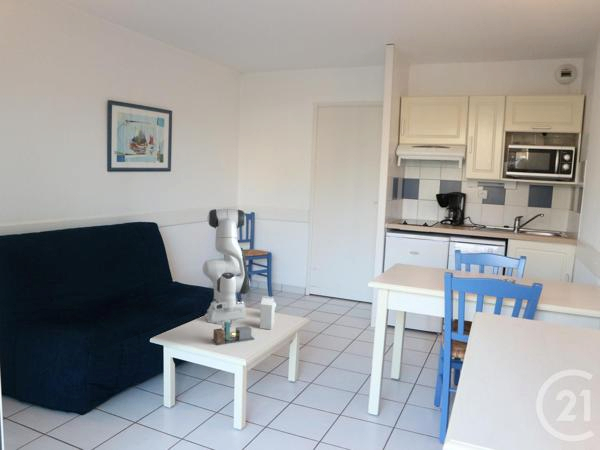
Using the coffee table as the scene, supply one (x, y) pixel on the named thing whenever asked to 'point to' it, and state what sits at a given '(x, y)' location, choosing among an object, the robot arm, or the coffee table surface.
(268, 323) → the milk carton
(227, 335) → the rod
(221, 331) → the socket
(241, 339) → the grey base plate
